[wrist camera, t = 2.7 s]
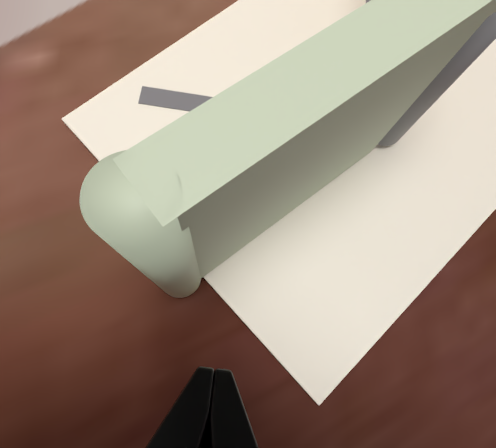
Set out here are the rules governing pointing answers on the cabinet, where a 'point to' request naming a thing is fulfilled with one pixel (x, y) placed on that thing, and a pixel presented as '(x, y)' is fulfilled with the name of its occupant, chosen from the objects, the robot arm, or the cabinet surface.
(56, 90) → the cabinet surface
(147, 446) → the robot arm
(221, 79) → the card
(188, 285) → the folding fence panel
